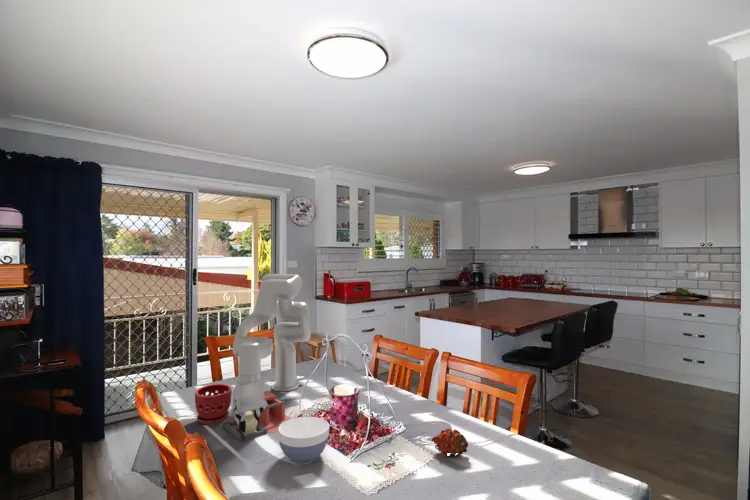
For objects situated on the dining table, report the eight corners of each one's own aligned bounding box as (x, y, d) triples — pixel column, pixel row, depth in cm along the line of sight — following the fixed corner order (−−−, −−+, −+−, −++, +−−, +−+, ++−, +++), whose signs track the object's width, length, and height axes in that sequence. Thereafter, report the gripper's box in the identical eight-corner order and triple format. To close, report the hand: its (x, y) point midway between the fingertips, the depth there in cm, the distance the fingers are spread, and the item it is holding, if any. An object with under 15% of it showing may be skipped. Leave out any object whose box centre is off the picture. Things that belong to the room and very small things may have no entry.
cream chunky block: (233, 416, 145) (236, 405, 144) (244, 413, 148) (246, 403, 146) (244, 436, 138) (247, 425, 137) (255, 432, 141) (257, 421, 140)
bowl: (285, 475, 115) (285, 442, 115) (272, 451, 129) (273, 421, 129) (336, 462, 122) (336, 431, 123) (319, 441, 137) (319, 413, 137)
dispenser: (243, 417, 156) (243, 396, 156) (271, 409, 164) (271, 389, 164) (270, 436, 140) (270, 412, 140) (299, 426, 148) (300, 404, 148)
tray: (247, 421, 152) (247, 416, 152) (267, 435, 140) (267, 429, 140) (222, 428, 146) (222, 423, 146) (241, 444, 134) (241, 438, 134)
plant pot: (188, 420, 153) (189, 389, 153) (221, 410, 162) (222, 381, 162) (203, 431, 144) (204, 397, 144) (237, 420, 153) (237, 389, 154)
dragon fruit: (470, 465, 125) (434, 462, 130) (472, 439, 131) (437, 437, 136) (463, 449, 121) (426, 447, 126) (466, 424, 127) (430, 422, 132)
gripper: (266, 370, 149) (265, 419, 149) (221, 379, 138) (221, 432, 137) (276, 375, 143) (275, 425, 143) (230, 385, 132) (230, 440, 132)
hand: (248, 428), depth 140 cm, fingers closed on cream chunky block, 4 cm apart
